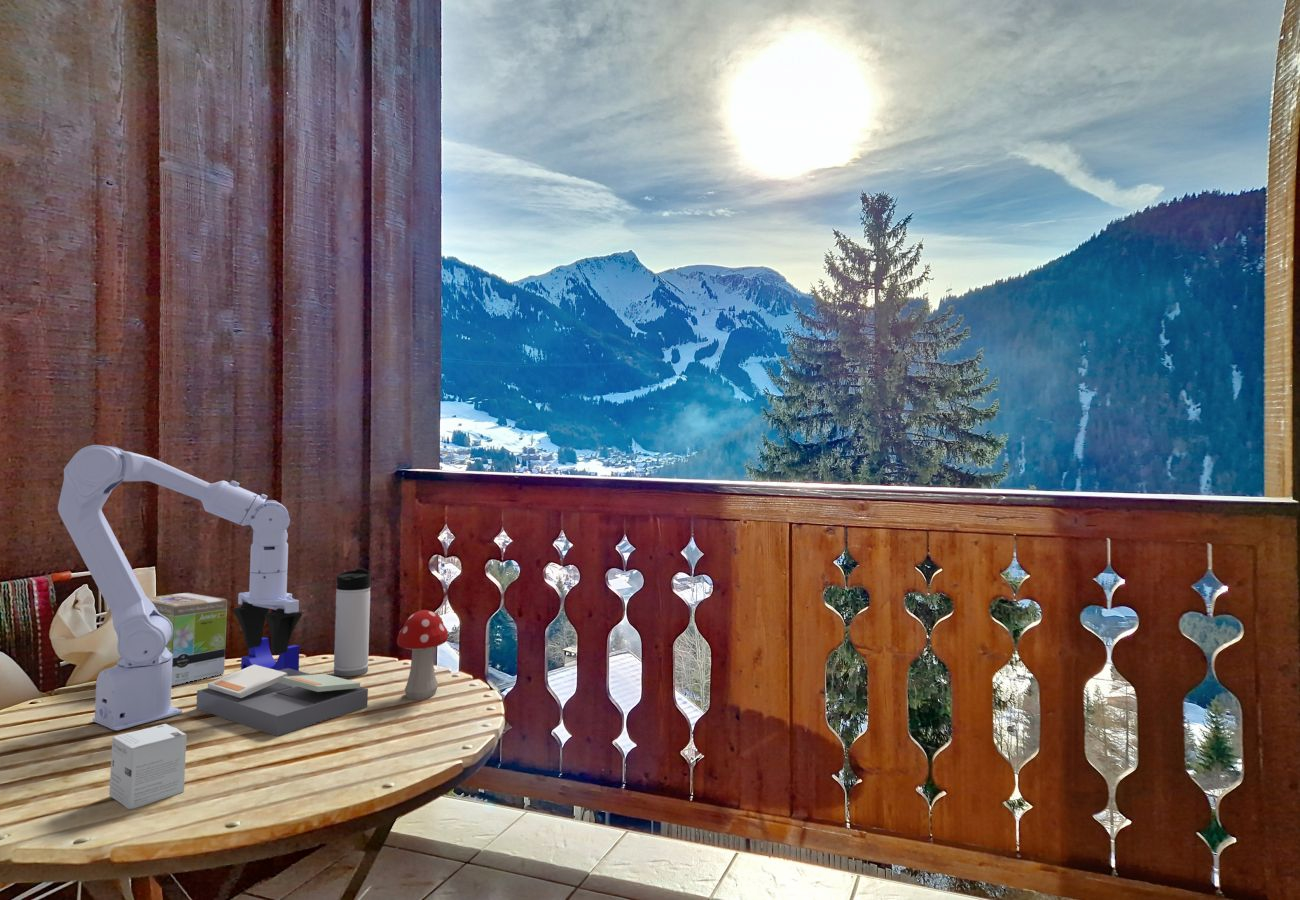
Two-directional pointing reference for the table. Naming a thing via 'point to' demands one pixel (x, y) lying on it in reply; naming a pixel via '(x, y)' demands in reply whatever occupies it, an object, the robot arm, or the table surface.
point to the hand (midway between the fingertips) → (266, 650)
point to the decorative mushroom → (422, 651)
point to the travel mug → (352, 623)
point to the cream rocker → (247, 681)
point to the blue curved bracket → (271, 657)
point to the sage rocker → (320, 682)
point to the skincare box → (147, 765)
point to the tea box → (194, 634)
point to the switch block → (282, 705)
